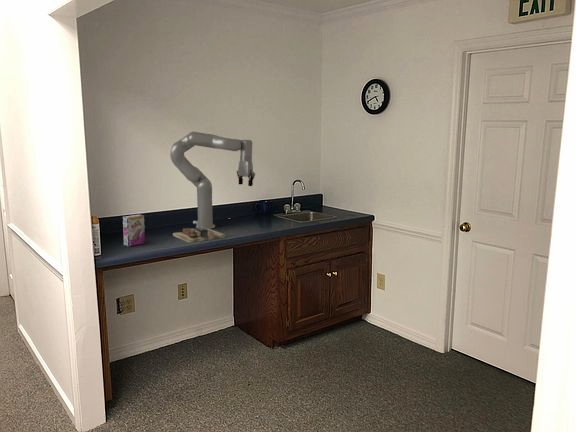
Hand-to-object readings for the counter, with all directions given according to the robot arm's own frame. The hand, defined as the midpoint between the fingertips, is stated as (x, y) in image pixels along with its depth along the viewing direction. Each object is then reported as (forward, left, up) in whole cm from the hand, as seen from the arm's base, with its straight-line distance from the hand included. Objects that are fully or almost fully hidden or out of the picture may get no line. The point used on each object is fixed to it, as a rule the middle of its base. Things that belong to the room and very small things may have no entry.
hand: (245, 185), depth 323 cm
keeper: (-10, -43, -26) cm, 51 cm away
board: (-14, -37, -28) cm, 49 cm away
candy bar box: (-38, -68, -28) cm, 83 cm away
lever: (-18, -42, -26) cm, 52 cm away
